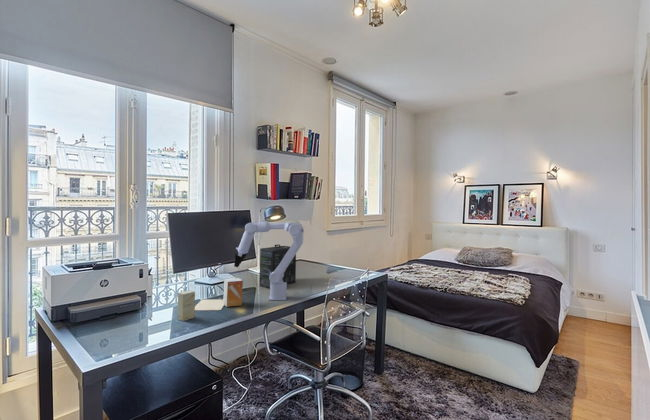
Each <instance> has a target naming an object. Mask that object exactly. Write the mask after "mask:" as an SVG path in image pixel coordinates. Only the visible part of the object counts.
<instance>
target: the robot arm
mask: <svg viewBox="0 0 650 420" xmlns="http://www.w3.org/2000/svg"><path fill="white" fill-rule="evenodd" d="M271 230H284V231H285V232H288V233H289V235H290V236H291V237H292V241H293V242H292V244H291V245H290V248H289V250H288V252H287V253H286V255H285V256H284V258H283V259H282V261H281V262H280V264H279V265H278V267H277V268H276V269H275V271H274V272H272V273H271V274H270V276H269V280H270V288H269V296H268V300H269V301H286V300H287V297H288V292H287V291H288V290H287V289H288V285H287V282H283V280H282V278H283V277H284V272H285V271H286V268H287V267H288V265H289V264H290V262H291V261H292V259H293V258H294V256H295V255H296V256H297V253H298V251H299V250H300V248H301V246H302V245H303V243H304V232H305V231H304V227H303V225H302V224H301V223H300V222H291V221H290V222H289V221H287V222H275V223H270V222H269V221H267V220H262V221H254V222H248V223H246V224H245V226H244V232H243V234H242V237H241V240H240V243H239V245H238V247H237V246H236V247H235V250H237V252H238V253H236V252H235V254H234V265H233V266H234V267H235V268H239V267H240V265H241V263H242V262H243V260H244V259H245V258H246V256H247V255H248V254H249V251H250V247H251V244H252V241H253V239H254V236H255V233H266V232H267V233H268V232H269V231H271Z"/></svg>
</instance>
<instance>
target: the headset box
mask: <svg viewBox="0 0 650 420" xmlns="http://www.w3.org/2000/svg"><path fill="white" fill-rule="evenodd" d="M290 247H291V245H290V246H288V245H281V244H274V246H271V247H262V248H260V249H259V252H260V254H259V287H262V288H266V289H270V280H269V276H270V274H271V273H272V272H274V271H275V269H276V268H277V267H278V265H279V264H280V262H281V261H282V259H283V258H284V256H285V255H286V253H287V252H288V250H289V248H290ZM296 271H297V254H296V255H295V256H294V258H293V259H292V261H291V262H290V264H289V265H288V267H287V268H286V271H285V272H284V277H283V278H282V280H283V282H287V286H288V285H290V284H292V285H293V284H296V283H297V282H296V275H297V273H296Z"/></svg>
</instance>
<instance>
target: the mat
mask: <svg viewBox="0 0 650 420" xmlns="http://www.w3.org/2000/svg"><path fill="white" fill-rule="evenodd" d="M224 306H225V305H224V304H223V298H222V299H220V298H219V299H216V298H215V299H201V300H200V301H199V302H198V303H197V304H195V312H197V311H198V312H199V311H200V312H201V311H203V312H204V311H207V312H208V311H210V312H211V311H221V310H223V308H224Z"/></svg>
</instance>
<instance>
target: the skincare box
mask: <svg viewBox="0 0 650 420" xmlns="http://www.w3.org/2000/svg"><path fill="white" fill-rule="evenodd" d="M195 306H196V292H195V290H194V291H193V290H185V291H181V292H177V320H179V321H182V322H184V321H188V320H190V319H191V320H192V319H194V318H196V314H195V313H196V311H195Z"/></svg>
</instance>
